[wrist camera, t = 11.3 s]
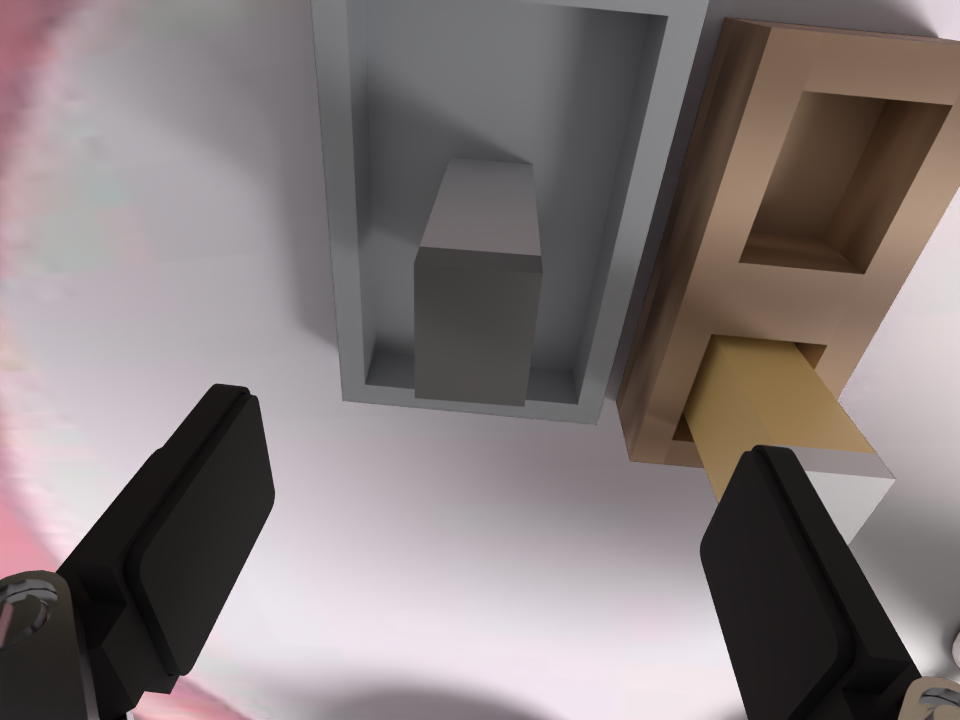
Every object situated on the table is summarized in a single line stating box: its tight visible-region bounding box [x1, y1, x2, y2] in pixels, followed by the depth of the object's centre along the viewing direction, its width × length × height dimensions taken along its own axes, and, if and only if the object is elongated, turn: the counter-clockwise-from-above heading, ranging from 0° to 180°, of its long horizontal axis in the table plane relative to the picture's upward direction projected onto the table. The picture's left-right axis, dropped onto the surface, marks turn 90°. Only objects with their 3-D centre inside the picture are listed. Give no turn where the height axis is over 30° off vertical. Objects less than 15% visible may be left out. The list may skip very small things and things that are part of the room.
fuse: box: [683, 334, 896, 545], centre depth 20 cm, size 4×3×9 cm
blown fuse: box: [414, 158, 543, 407], centre depth 18 cm, size 4×3×9 cm
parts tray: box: [311, 0, 710, 425], centre depth 21 cm, size 16×11×3 cm
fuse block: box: [616, 17, 960, 468], centre depth 21 cm, size 16×7×4 cm, turn 175°
